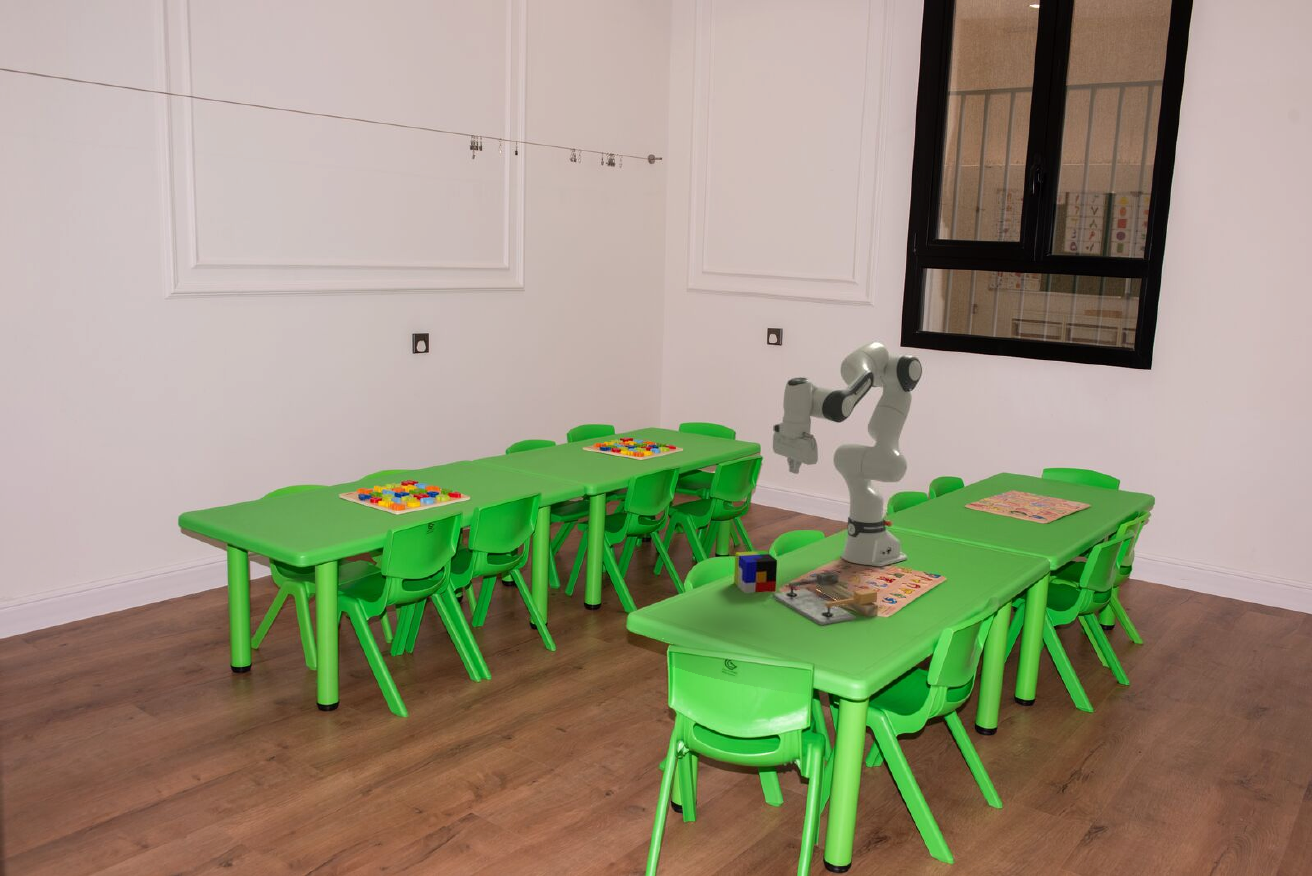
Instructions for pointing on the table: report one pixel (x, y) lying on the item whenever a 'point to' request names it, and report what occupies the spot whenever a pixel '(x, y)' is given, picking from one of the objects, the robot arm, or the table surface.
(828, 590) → the dividers rail
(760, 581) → the puzzle toy
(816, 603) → the bolt plate
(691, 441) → the table surface
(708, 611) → the table surface
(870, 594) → the sliding leg
